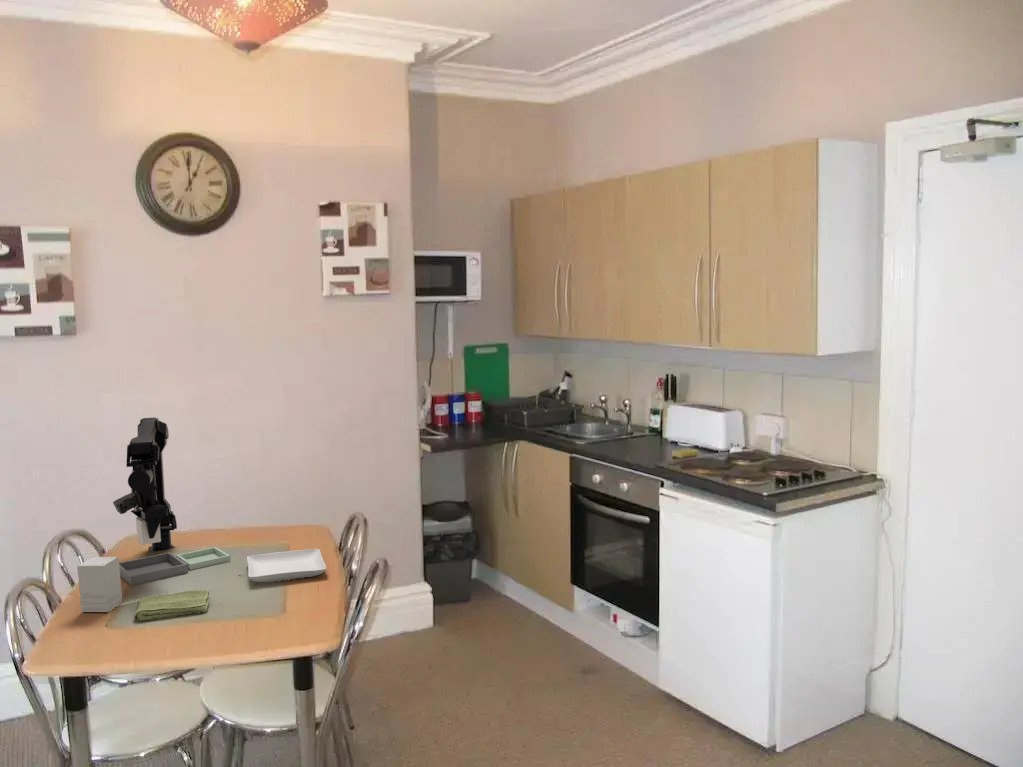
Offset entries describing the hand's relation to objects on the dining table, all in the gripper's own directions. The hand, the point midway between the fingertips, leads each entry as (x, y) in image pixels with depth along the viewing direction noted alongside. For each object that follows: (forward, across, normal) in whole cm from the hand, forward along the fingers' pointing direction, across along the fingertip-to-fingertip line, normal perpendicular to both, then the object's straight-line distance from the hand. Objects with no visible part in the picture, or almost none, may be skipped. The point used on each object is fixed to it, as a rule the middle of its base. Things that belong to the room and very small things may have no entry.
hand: (148, 536), depth 246 cm
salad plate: (+12, +25, +30) cm, 41 cm away
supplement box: (+12, +19, -18) cm, 29 cm away
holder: (+11, 0, +15) cm, 19 cm away
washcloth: (+12, +32, -4) cm, 35 cm away
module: (+2, 0, 0) cm, 2 cm away
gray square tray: (+11, 0, 0) cm, 11 cm away
